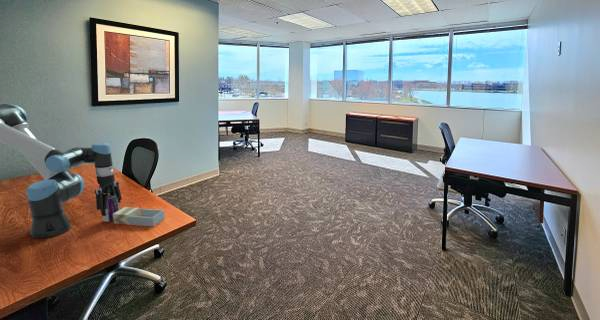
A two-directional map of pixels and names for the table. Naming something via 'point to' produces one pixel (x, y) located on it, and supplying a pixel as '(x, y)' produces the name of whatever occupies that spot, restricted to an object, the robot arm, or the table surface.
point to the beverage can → (112, 206)
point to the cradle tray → (147, 217)
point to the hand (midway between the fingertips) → (112, 217)
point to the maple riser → (125, 215)
